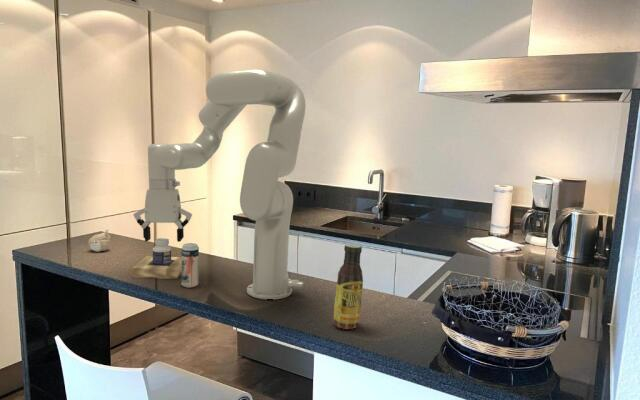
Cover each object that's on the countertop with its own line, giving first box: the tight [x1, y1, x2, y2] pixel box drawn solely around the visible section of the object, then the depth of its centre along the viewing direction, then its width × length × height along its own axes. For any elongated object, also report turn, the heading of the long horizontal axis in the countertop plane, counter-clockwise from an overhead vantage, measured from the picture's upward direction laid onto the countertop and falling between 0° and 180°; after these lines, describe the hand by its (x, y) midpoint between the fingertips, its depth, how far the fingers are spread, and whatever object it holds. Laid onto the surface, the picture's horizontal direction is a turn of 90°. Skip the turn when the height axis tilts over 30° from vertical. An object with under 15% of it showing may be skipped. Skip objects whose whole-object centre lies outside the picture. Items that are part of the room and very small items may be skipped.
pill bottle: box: [152, 237, 172, 266], centre depth 145 cm, size 5×5×10 cm
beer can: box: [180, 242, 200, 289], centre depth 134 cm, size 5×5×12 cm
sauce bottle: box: [333, 243, 364, 330], centre depth 112 cm, size 7×6×20 cm
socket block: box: [131, 255, 182, 280], centre depth 146 cm, size 13×13×3 cm
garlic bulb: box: [87, 228, 111, 252], centre depth 165 cm, size 7×6×8 cm
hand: (163, 240), depth 144 cm, fingers open, 9 cm apart
